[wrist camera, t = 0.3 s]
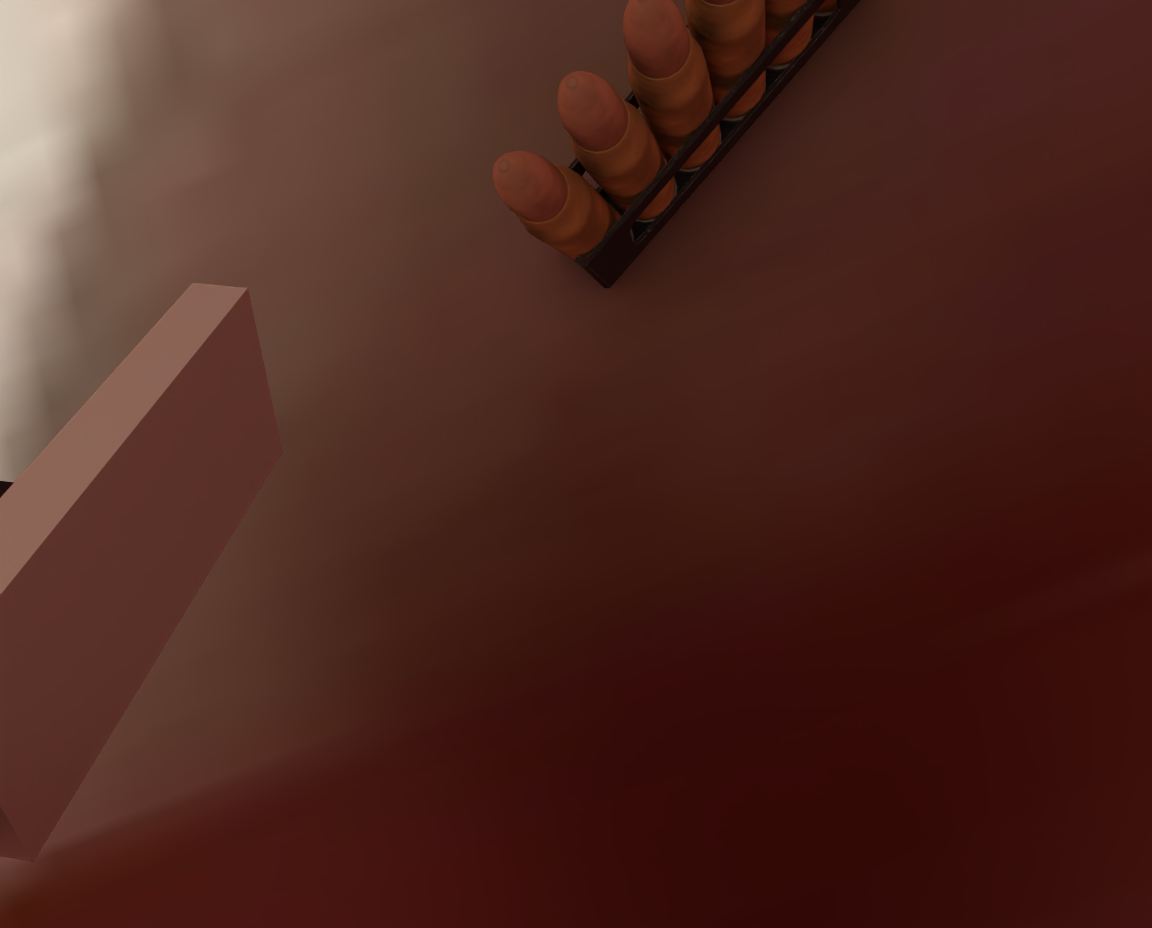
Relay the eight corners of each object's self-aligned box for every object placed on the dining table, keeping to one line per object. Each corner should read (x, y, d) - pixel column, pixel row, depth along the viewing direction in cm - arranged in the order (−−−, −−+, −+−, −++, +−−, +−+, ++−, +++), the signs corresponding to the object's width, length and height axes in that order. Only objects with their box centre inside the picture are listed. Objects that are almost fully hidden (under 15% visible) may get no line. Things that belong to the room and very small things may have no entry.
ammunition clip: (822, -62, 28) (866, -370, 16) (874, -17, 28) (957, -295, 16) (559, 247, 30) (428, 173, 18) (607, 290, 30) (506, 244, 18)
